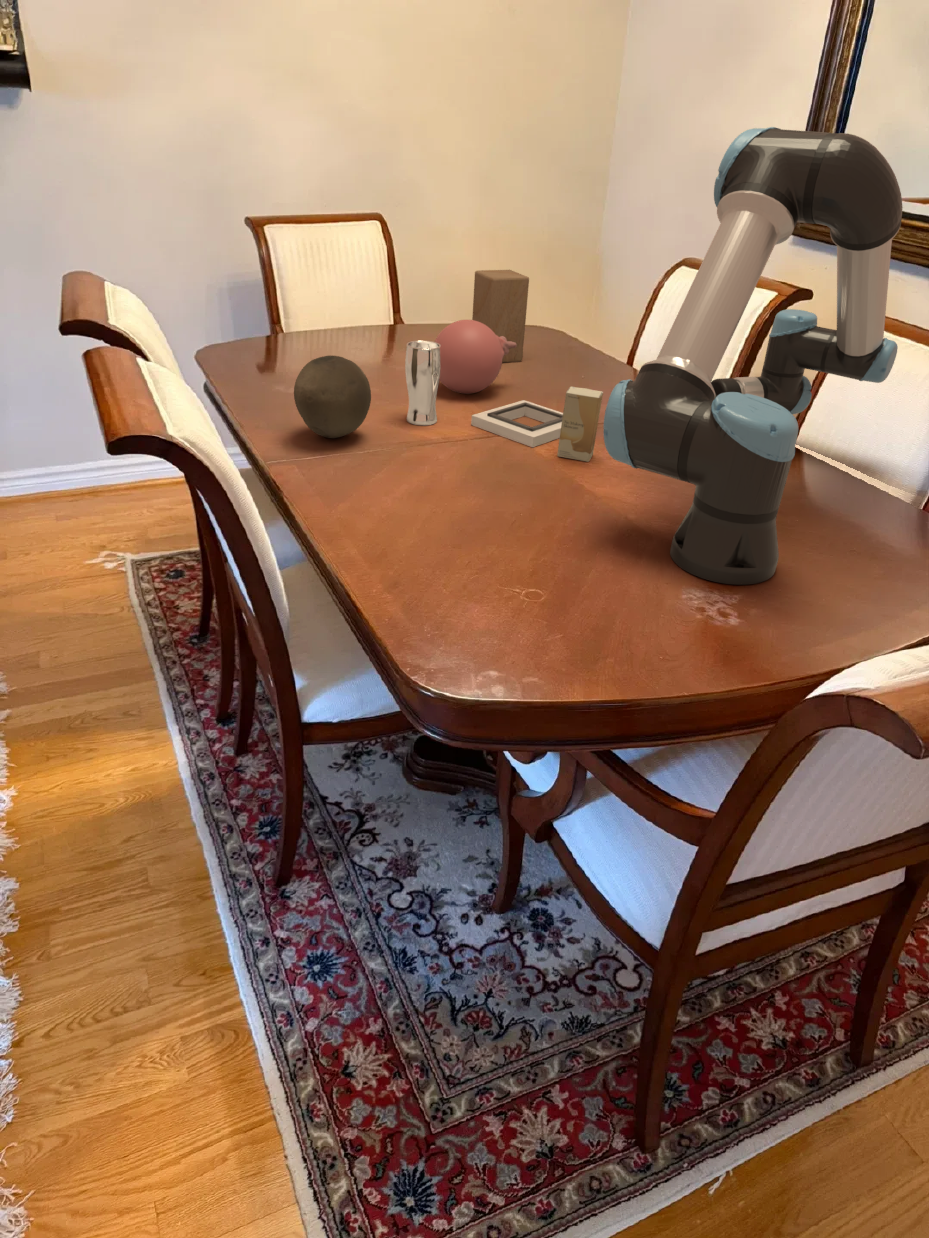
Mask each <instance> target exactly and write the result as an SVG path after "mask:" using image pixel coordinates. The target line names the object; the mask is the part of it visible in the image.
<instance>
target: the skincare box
mask: <svg viewBox="0 0 929 1238" xmlns="http://www.w3.org/2000/svg"><path fill="white" fill-rule="evenodd" d="M603 395H604V391H602V390H594V389H591V388H586V387H585V388H584V387H578V386H577V387H575V386H569V388H568V389H567V390H566V393H565V396H564V397H565V399H564V404H563V411H562V413H563V418H562V425H561V432H560V438H558V439H559V440H558V447H557V455H556V456H557V457H559V458H566V459H571V460H576V461H577V460H578V461H581V462H590V460H591V459H592V456H593V455H594V449H595V444H596V438H597V431H598V426H599V420H600V413H601V408H602V402H603Z"/></svg>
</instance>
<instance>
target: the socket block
mask: <svg viewBox="0 0 929 1238" xmlns="http://www.w3.org/2000/svg"><path fill="white" fill-rule="evenodd" d="M521 417H526V418H530V419H533V420H535V421H537V422H541V423H540V424H537V425H535V426H534V425H533V426H529V425H528V424H527V425H526V424H524V423H521V422H518V421H515V420H516V419H519V418H521ZM562 418H563V411H562V412H561V411H558V410H555V409H552V408H550V407H545V406H543V405H539V404H536V403H534V402H532V401H528V400H524V399H523V400H519V401H515V402H513V403H509V404H506V405H503V406H499V407H495V408H492V409H488V410H485V411H482V412H479V413H474V414H472V415H471V421H470V422H471V423H470V424H471V426H472V427H476V428H478V429H481V430H484V431H487V432H490V433H492V434H494V435H497V436H500V437H503V438H505V439H509V440H512V441H514V442H517V443H519V444H522V445H525V446H528V447H531V448H535V447H537V446H541V445H543V444H546V443H549V442H551V441H555V440H558V439H560V432H561V425H562Z"/></svg>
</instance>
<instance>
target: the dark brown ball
mask: <svg viewBox="0 0 929 1238" xmlns="http://www.w3.org/2000/svg"><path fill="white" fill-rule="evenodd" d="M293 398H294V403H295V407H296V410H297V411H298V414H299V415H300V417H301V419H302V420H303V422H304V423H305V425H306V427H308V429H310V430H311V431H312V432H314V433H315V434H316V435H319V436H321V437H325V438H327V439H338V438H341V437H343V436H347V435H349V434H351V433H353V432H355V431H357V429H358V428H360V427H361V425H362V424H363V423H364V421H365V419H366V418H367V415H368V414H369V413H368V412H369V410H370V407H371V400H372V390H371V386H370V382H369V379H368V377H367V375H366V374H365V372H364V371H363V370H362V369H361V367H360V366H359V365H358V364H356V363H355V362H354V361H352V360H350V359H348V358H345V357H342V356H340V355H324V356H319V357H316V358H313V359H311V360H310V361H308V362H307V363H306V364H305V365H304V366H303V368H302V369H301V370H300V371H299V373H298V375H297V377H296V379H295V383H294V387H293Z"/></svg>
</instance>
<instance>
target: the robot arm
mask: <svg viewBox="0 0 929 1238" xmlns="http://www.w3.org/2000/svg"><path fill="white" fill-rule="evenodd" d="M717 172H718V175H717V177H715V180H714V186H713V200H714V204H715V207H716V215H717V218H718V221H719V223H720V224H719V226H718V229H717V230H716V232H715V235H714V236H713V238H712V240H711V243H710V245H709V247H708V250H707V252H706V253H705V255H704V258H703V259H702V262H701V265H700V266H699V269H698V270H697V273H696V275H695V277H694V279H693V281H692V283H691V285H690V287H689V289H688V291H687V294H686V296H685V298H684V300H683V303H682V305H681V306H680V308H679V311H678V313H677V315H676V316H675V319H674V321H673V323H672V325H671V327H670V329H669V332H668V334H667V336H666V337H665V339H664V342H663V345H662V347H661V349H660V350H659V351H660V352H659V354H657V357H656V359H654V360H651V361H647V362H645V363H643V364H642V365H641V367H640V369H639V371H638V373H637V375H636V377H635V379H634V381H633V380H632V379H631V378H629V379H622V380H621V381H619V382H618V383H617V384H615V386H614V387H613V389H612V391H610V392H611V393H610V395H609V397H608V400H607V403H606V407H605V411H604V416H603V417H604V418H603V425H602V427H603V443H604V447H605V449H606V451H607V453H608V455H609V457H611V458H612V459H613V460H615V461H616V462H620V463H621V464H625V465H628V466H630V467H631V468H633V469H636V470H637V469H640V470H645V471H647V472H651V473H653V474H658V475H661V476H665V477H669V478H672V479H675V480H679V481H682V482H685V483H690V484H693V485H695V488H694V489H695V490H694V495H693V500H692V503H691V506H690V508H689V509H688V511H687V513H686V515H685V516H684V518H683V520H682V521H681V523H680V524H679V526H678V528H677V530H676V531H675V533H674V535H673V538H672V542H671V546H670V550H669V554H670V558H671V560H672V561H673V562H674V563H675V564H676V565H677V566H678V567H680V568H681V569H682V570H684V571H685V572H687V573H689V574H690V575H693V576H695V577H698V578H700V579H703V580H707V581H711V582H713V583H714V582H715V583H718V584H719V583H720V584H725V585H733V586H734V585H738V586H741V585H742V586H743V585H754V584H760V583H763V582H766V581H768V580H769V579H771V578H772V577H773V576H774V574H775V573H776V569H777V566H778V561H779V554H780V553H779V543H778V534H777V533H778V531H777V522H776V521H777V516H778V514H779V513H778V512H779V509H780V507H781V506H780V505H781V503H782V502H781V501H782V499H783V493H784V490H785V487H786V483H787V479H788V476H789V474H790V473H789V472H790V468H791V466H792V462H793V459H794V458H795V455H796V444H797V439H798V433H799V423H798V421H797V418H796V417H795V416H794V415H797V414H800V413H802V412H804V411H805V410H806V409H807V407H808V406H809V405H810V402H811V399H812V396H813V394H812V392H811V390H812V384H811V381H810V380H809V379H808V377H807V376H806V375H805V374H804V372H805V370H809V371H810V370H811V371H815V372H821V373H825V374H830V375H835V376H840V377H843V378H848V379H853V380H856V381H857V380H858V381H860V382H863V381H864V382H871V383H875V384H876V383H877V384H878V383H883V382H884V381H886V380H887V378H888V376H889V375H890V373H891V370H892V369H893V365H894V364H895V361H896V359H897V353H898V344H897V342H896V341H894V340H891V339H888V338H887V337H884V335H885V326H886V325H885V323H886V314H887V313H886V311H887V300H888V289H889V280H890V279H889V278H890V267H891V266H890V265H891V255H892V254H891V253H892V252H891V251H892V242H893V239H894V238H895V237H896V236H897V234H898V233H899V230H900V228H901V226H902V217H903V208H904V207H903V200H902V199H903V197H902V193H901V192H902V191H901V188H900V186H899V182H898V179H897V176H896V174H895V172H894V170H893V168H892V166H891V165H890V163H889V162H888V160H887V158H886V157H885V156H884V155H883V154H882V153H881V152H880V150H879V149H878V148H877V147H876V146H875V145H873V143H871V142H870V141H868V140H866V139H865V138H863V137H860V136H857V135H855V134H852V133H843V132H839V133H837V132H836V133H835V132H825V131H823V132H822V131H809V130H797V129H796V130H794V129H793V130H792V129H781V128H779V127H775V126H769V127H766V128H761V127H758V128H757V127H755V128H750V129H747V130H744V131H743V132H741V133H740V134H738V135H737V136H736V138H734V140H733V141H732V142H731V144H730V145H729V146H728V148H727V149H726V151H725V153H724V154H723V157H722V159H721V161H720V164H719V167H718V169H717ZM798 223H801V224H802V223H804V224H813V225H822V226H827V227H828V228H829V233H830V234H829V235H830V238H831V240H832V242H833V243H834V244H835V246H836V252H837V253H836V329H832V328H827V327H823V326H822V327H821V326H818V316H817V314H816V313H814V312H810V311H808V310H802V309H793V308H792V309H791V308H790V309H789V308H788V309H783V310H780V311H779V312H777V313H776V315H775V316H774V317H775V318H774V320H773V323H772V327H771V329H770V333H769V334H768V341H767V347H766V350H765V351H766V352H765V356H764V359H763V360H764V361H763V364H762V365H763V366H762V369H761V374H760V376H743V377H742V376H741V377H739V376H738V377H734V378H733V377H726V378H715V379H713V378H714V376H715V374H716V372H717V370H718V368H719V366H720V363H721V362H722V359H723V357H724V355H725V353H726V351H727V349H728V346H729V344H730V341H732V338H733V336H734V334H735V331H736V330H737V327H738V325H739V323H740V321H741V319H742V317H743V314H744V312H745V310H746V308H747V306H748V304H749V301H750V299H751V297H752V295H753V293H754V291H755V289H756V287H757V285H758V282H759V280H760V279H761V276H762V274H763V271H764V270H765V267H766V265H767V263H768V261H769V260H770V259H769V258H770V256H771V255H772V252H773V250H774V248H775V246H777V245H780V244H782V243H784V242H786V241H787V240H788V239H789V238H790V237H791V236H792V235H793V232H794V229H796V228H795V227H796V226H797V224H798Z"/></svg>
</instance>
